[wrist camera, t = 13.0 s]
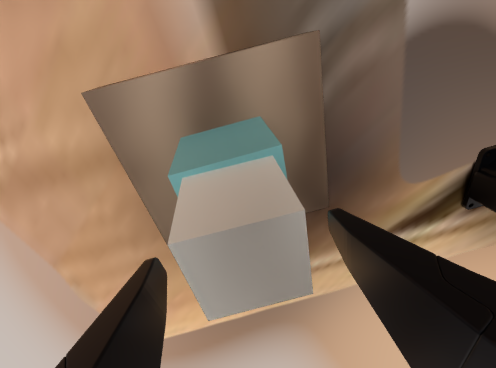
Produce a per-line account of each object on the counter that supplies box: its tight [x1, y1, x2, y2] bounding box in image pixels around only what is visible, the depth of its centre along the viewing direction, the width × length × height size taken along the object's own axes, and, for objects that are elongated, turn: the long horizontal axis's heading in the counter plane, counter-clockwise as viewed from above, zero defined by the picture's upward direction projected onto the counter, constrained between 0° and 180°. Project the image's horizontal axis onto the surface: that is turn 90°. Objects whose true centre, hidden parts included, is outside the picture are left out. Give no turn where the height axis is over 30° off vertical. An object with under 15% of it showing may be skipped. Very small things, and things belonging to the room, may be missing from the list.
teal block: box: [168, 116, 287, 197], centre depth 13 cm, size 5×5×5 cm
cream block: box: [168, 155, 313, 321], centre depth 9 cm, size 4×4×4 cm
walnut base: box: [81, 30, 329, 245], centre depth 16 cm, size 13×12×2 cm
